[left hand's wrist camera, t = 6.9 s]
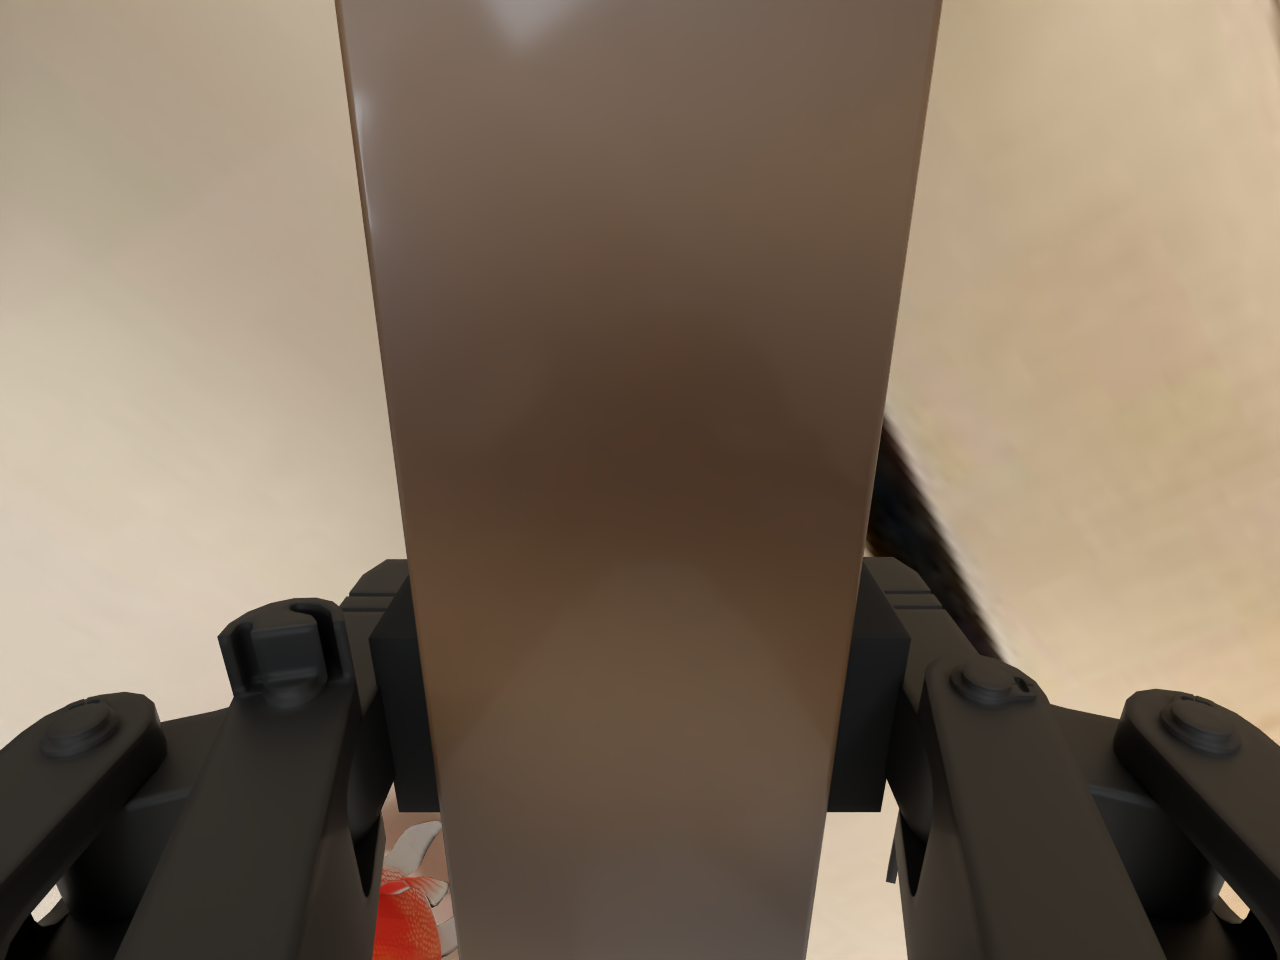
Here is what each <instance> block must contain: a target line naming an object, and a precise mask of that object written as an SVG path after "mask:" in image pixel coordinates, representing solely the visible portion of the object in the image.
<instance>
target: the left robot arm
mask: <svg viewBox="0 0 1280 960" xmlns="http://www.w3.org/2000/svg"><path fill="white" fill-rule="evenodd" d="M218 641H219V645H220V648H221V652H222V655H223V659H224V663H225V666H226V670H227V674H228V677H229V681H230V684H231V688H232V692H233V695H234V697H233V700H232V702H231V704H230V706H229V707H228V708H224V709H220V710H217V711H213V712H208V713H203V714H198V715H194V716H189V717H184V718H179V719H174V720H169V721H165V722H160V719H159V716H158V713H157V710H156V707H155V704H154V702H152V701H151V700H150V699H148V698H147V697H146V696H145V695H142V694H136V693H129V692H120V693H112V694H103V695H98V696H93V697H89V698H87V699H85V700H84V699H82V700H79V701H76V702H73V703H71V704H69V705H67V706H65V707H63V708H61V709H59V710H57V711H55V712H53V713H51V714H49V715H46V716H44V717H43V718H42V719H40V720H39V721H37V722H36V723H34V724H33V725H31V726H30V727H29V728H27V729H26V730H24V731H23V732H21V733H20V734H19V735H18V736H17V737H15V738H14V739H13V740H12V741H11V742H10V743H8V744H7V745H6V746H5V747H4V748H3V749H1V750H0V960H372V957H373V949H374V940H375V931H376V922H377V913H378V904H379V895H380V886H381V878H382V869H383V860H384V851H385V842H386V837H385V830H384V823H383V818H382V813H381V809H382V807H383V804H384V802H385V800H386V797H387V795H388V793H389V790H390V788H391V786H392V783H393V781H394V786H395V792H396V798H397V803H398V809H399V812H440V806H439V799H438V791H437V783H436V775H435V768H434V760H433V752H432V745H431V737H430V729H429V722H428V714H427V706H426V699H425V691H424V683H423V676H422V668H421V660H420V653H419V645H418V637H417V630H416V622H415V614H414V607H413V599H412V591H411V583H410V576H409V568H408V560H407V559H387V560H385V561H384V562H382V563H381V564H379V565H377V566H376V567H374V568H373V569H371V570H370V571H368V572H367V573H365V574H363V575H362V577H361V578H360V579H359V581H358V582H357V583H356V585H355V586H354V587H353V589H352V590H351V591H350V593H349V597H346V598H345V599H344V601H343V602H342V603H341V605H340V606H338V605H336V604H335V603H334V602H333V601H328V600H324V599H319V598H293V599H288V600H284V601H279V602H274V603H270V604H267V605H265V606H262V607H259V608H257V609H254V610H252V611H249V612H247V613H245V614H244V615H242V616H241V617H239V618H237V619H236V620H234V621H232V622H231V623H229V624H228V625H227V627H226V628H225V629H224V630H223V631H222V632H221V633H220V634H219V635H218ZM886 778H887V781H888V783H889V785H890V788H891V790H892V792H893V795H894V797H895V799H896V802H897V804H898V806H899V813H898V818H897V823H896V828H895V834H894V839H893V844H892V849H891V855H890V860H889V865H888V871H887V878H886V882H890V883H894V884H895V882H896V877H897V872H898V876H899V885H900V894H901V902H902V911H903V920H904V929H905V938H906V947H907V956H908V960H1280V746H1279V745H1277V744H1276V743H1275V742H1274V741H1273V740H1272V739H1270V738H1269V737H1268V736H1267V735H1266V734H1264V733H1263V732H1262V731H1261V730H1260V729H1258V728H1257V727H1255V726H1254V725H1253V724H1251V723H1250V722H1248V721H1247V720H1245V719H1244V718H1242V717H1241V716H1239V715H1238V714H1237V713H1235V712H1233V711H1230V710H1228V709H1226V708H1224V707H1222V706H1220V705H1218V704H1216V703H1214V702H1213V701H1211V700H1208V699H1205V698H1202V697H1199V696H1193V694H1188V693H1184V692H1178V691H1170V690H1161V689H1151V690H1144V691H1137V692H1136V693H1134V694H1133V695H1132V696H1131V697H1129V698H1128V699H1127V700H1126V702H1125V705H1124V708H1123V711H1122V715H1121V718H1120V719H1115V718H1111V717H1106V716H1101V715H1096V714H1091V713H1086V712H1082V711H1077V710H1072V709H1067V708H1063V707H1059V706H1056V705H1052V704H1050V703H1049V701H1048V698H1047V696H1046V695H1045V693H1044V692H1043V691H1042V689H1041V688H1040V687H1039V686H1038V684H1037V683H1036V682H1035V681H1034V680H1033V679H1031V678H1030V677H1029V676H1027V675H1026V674H1024V673H1023V672H1022V671H1020V670H1019V669H1017V668H1015V667H1013V666H1011V665H1008V664H1006V663H1004V662H1002V661H999V660H997V659H994V658H990V657H985V656H981V655H979V654H978V652H977V651H976V650H975V648H974V647H973V646H972V644H971V643H970V642H969V640H968V639H967V638H966V636H965V635H964V634H963V632H962V631H961V630H960V629H959V627H958V626H957V625H956V623H955V622H954V621H953V619H952V618H951V617H950V615H949V614H948V613H947V611H946V610H945V609H942V605H941V603H940V602H939V601H938V599H937V598H936V597H935V596H934V594H931V590H930V589H929V588H928V586H927V585H926V584H925V582H924V581H923V580H922V578H921V577H920V576H919V574H918V573H917V572H915V571H914V570H912V569H911V568H909V567H908V566H906V565H905V564H903V563H901V562H900V561H898V560H897V559H895V558H894V557H863V561H862V568H861V575H860V582H859V589H858V596H857V603H856V610H855V617H854V624H853V631H852V638H851V645H850V652H849V659H848V666H847V673H846V680H845V687H844V694H843V701H842V708H841V715H840V722H839V729H838V736H837V743H836V750H835V757H834V764H833V771H832V778H831V785H830V792H829V799H828V806H827V812H881V806H882V801H883V795H884V789H885V784H886ZM1224 881H1226V882H1227V883H1228V884H1229V885H1230V887H1231V888H1232V889H1233V890H1234V891H1235V892H1236V894H1237V895H1238V896H1239V897H1240V898H1241V899H1242V901H1243V902H1244V903H1245V904H1246V905H1247V906H1248V907H1249V909H1250V911H1249V913H1248V915H1247V917H1246V918H1245V919H1244V920H1243V919H1241V918H1240V917H1239V916H1237V915H1236V914H1235V913H1234V912H1233V911H1232V910H1231V909H1230V908H1229V907H1228V905H1227V904H1226V903H1225V902H1224V901H1223V899H1222V898H1221V897H1220V896H1219V892H1220V890H1221V888H1222V886H1223V884H1224ZM55 884H56V885H57V887H58V890H59V892H60V894H61V896H62V898H61V899H60V901H59V902H58V903H57V904H56V905H55V907H54V908H53V909H52V910H51V911H50V912H49V913H48V914H47V915H46V916H45V917H44V918H42V919H41V920H40V921H39V922H38V923H37V922H36V921H34V919H33V917H32V915H31V912H32V911H33V910H34V909H35V908H36V906H37V905H38V904H39V903H40V902H41V901H42V899H43V898H44V897H45V896H46V895H47V894H48V892H49V891H50V890H51V889H52V888H53V887H54V885H55Z"/></svg>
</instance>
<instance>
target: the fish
mask: <svg viewBox="0 0 1280 960" xmlns="http://www.w3.org/2000/svg"><path fill="white" fill-rule="evenodd" d="M441 829H442V824H441V822H440V821H430V822H426V823H422V824H417V825H413V826H411V827H410V828H408V829H406V830H405V831H404V832H403V833H402V835H401V836H400V837H399V839H398V840H397V842H396V844H395V845H394V847H393V849H392V850H391V852H390V853H389V854H388V855H387V856H386V857H385V858H384V860H383V869H382V878H381V886H380V895H379V904H378V913H377V922H376V931H375V940H374V949H373V957H372V960H441V958H442V957H445V956H447V955H449V954H450V953H451V952H453V951H454V950H455V949H456V948H457V947H458V944H457V937H456V929H455V921H454V916H453V917H452V918H450V919H449V920H448V921H446V922H444V923H442V924H440V925H438V926H437V925H436V922H435V919H434V916H433V913H432V911H431V909H430V906H429V904H428V901H427V899H426V897H425V895H426V896H427V898H428V900H429V902H430V905H431V908H433V907H435V906H437V905H438V904H439V903H440V901H441V900H442V899H443V897H444V896H445V895H446V893H447V892H448V888H449V884H448V883H447V882H444V881H439V880H436V879H434V878H429V877H416V878H410V877H409V876H407V875H409V874H410V873H412V872H413V871H415V870H416V869H417V868H418V867H419V866H420V864H421V862H422V860H423V858H424V856H425V853H426V851H427V849H428V847H429V845H430V844H431V842H432V841H433V839H434V838H435V837H436V835H437V834H438V833H439V831H440V830H441ZM424 894H425V895H424Z"/></svg>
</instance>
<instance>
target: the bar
mask: <svg viewBox="0 0 1280 960" xmlns="http://www.w3.org/2000/svg"><path fill="white" fill-rule="evenodd" d="M942 2H943V0H335V8H336V15H337V23H338V31H339V38H340V46H341V54H342V61H343V69H344V77H345V84H346V92H347V100H348V107H349V115H350V123H351V130H352V138H353V146H354V153H355V161H356V169H357V176H358V184H359V192H360V200H361V207H362V215H363V223H364V230H365V238H366V246H367V253H368V261H369V269H370V276H371V284H372V292H373V299H374V307H375V315H376V322H377V330H378V338H379V345H380V353H381V361H382V368H383V376H384V384H385V391H386V399H387V407H388V415H389V422H390V430H391V438H392V445H393V453H394V461H395V468H396V476H397V484H398V491H399V499H400V507H401V514H402V522H403V530H404V537H405V545H406V553H407V560H408V568H409V576H410V583H411V591H412V599H413V607H414V614H415V622H416V630H417V637H418V645H419V653H420V660H421V668H422V676H423V683H424V691H425V699H426V706H427V714H428V722H429V729H430V737H431V745H432V752H433V760H434V768H435V775H436V783H437V791H438V799H439V806H440V814H441V822H442V829H443V837H444V845H445V852H446V860H447V868H448V875H449V883H450V891H451V898H452V906H453V914H454V921H455V929H456V937H457V944H458V952H459V960H806V953H807V946H808V939H809V932H810V925H811V918H812V911H813V904H814V897H815V890H816V883H817V876H818V869H819V862H820V855H821V848H822V841H823V834H824V827H825V820H826V813H827V806H828V799H829V792H830V785H831V778H832V771H833V764H834V757H835V750H836V743H837V736H838V729H839V722H840V715H841V708H842V701H843V694H844V687H845V680H846V673H847V666H848V659H849V652H850V645H851V638H852V631H853V624H854V617H855V610H856V603H857V596H858V589H859V582H860V575H861V568H862V561H863V554H864V547H865V540H866V533H867V526H868V520H869V513H870V506H871V499H872V492H873V485H874V478H875V471H876V464H877V457H878V450H879V443H880V436H881V429H882V422H883V415H884V408H885V401H886V394H887V387H888V380H889V373H890V366H891V359H892V352H893V345H894V338H895V331H896V324H897V317H898V310H899V303H900V296H901V289H902V282H903V275H904V268H905V261H906V254H907V247H908V240H909V233H910V226H911V219H912V212H913V205H914V198H915V191H916V184H917V177H918V170H919V163H920V156H921V149H922V142H923V135H924V128H925V121H926V114H927V107H928V100H929V93H930V86H931V79H932V72H933V65H934V58H935V51H936V44H937V37H938V30H939V23H940V16H941V9H942Z"/></svg>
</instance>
